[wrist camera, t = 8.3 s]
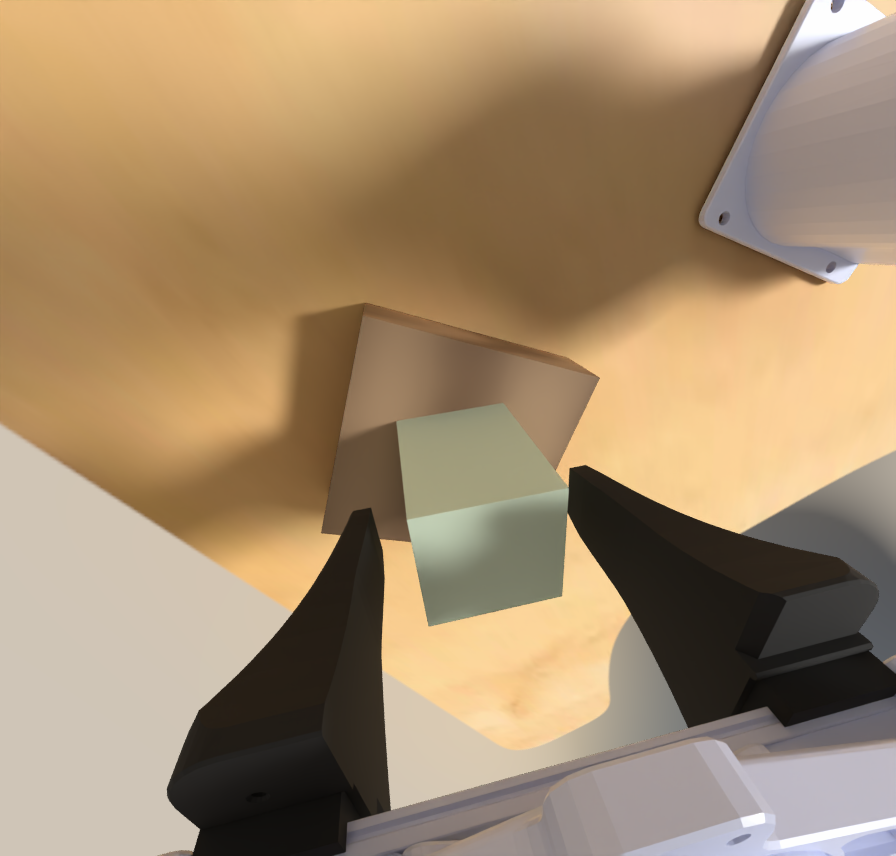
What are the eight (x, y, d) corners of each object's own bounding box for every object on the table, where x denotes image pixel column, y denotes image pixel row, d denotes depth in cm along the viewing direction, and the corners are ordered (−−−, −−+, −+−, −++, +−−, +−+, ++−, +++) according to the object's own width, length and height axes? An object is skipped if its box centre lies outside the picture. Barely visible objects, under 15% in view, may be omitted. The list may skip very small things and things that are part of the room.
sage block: (503, 402, 15) (568, 487, 10) (506, 488, 17) (561, 596, 12) (396, 421, 15) (406, 519, 10) (412, 506, 17) (428, 626, 12)
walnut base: (567, 357, 18) (599, 377, 16) (499, 515, 22) (516, 552, 20) (365, 302, 16) (362, 315, 13) (328, 493, 19) (321, 533, 17)
